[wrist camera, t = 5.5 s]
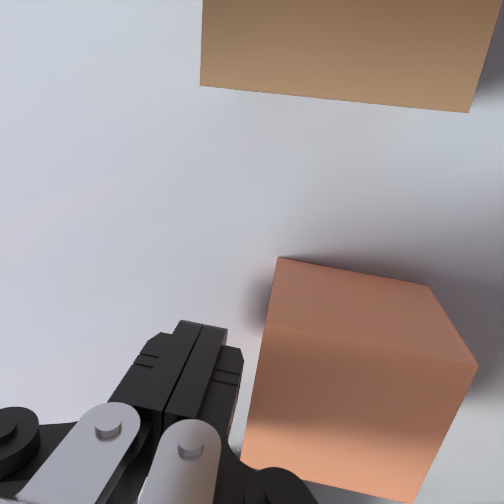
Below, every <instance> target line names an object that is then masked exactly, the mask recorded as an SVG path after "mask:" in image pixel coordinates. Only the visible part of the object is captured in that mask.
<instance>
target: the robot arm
mask: <svg viewBox="0 0 504 504" xmlns="http://www.w3.org/2000/svg"><path fill="white" fill-rule="evenodd" d="M227 334H228V329H225V328H220V327H215V326H210V325H204V324H200V323H195V322H190V321H185V320H180V322H179V323H178V325H177V327H176V328H175V330H174V332H173V334H167V333H162V332H160V333H159V334H157V335H156V336H154V337H153V338H151V339H150V340H148V341H147V343H146V344H145V346H144V347H143V349H142V350H141V352H140V355H138V356H137V358H136V359H135V361H134V363H133V365H131V367H130V368H129V370H128V371H127V373H126V375H125V376H124V378H123V379H122V381H121V382H120V384H119V385H118V387H117V388H116V390H115V391H114V393H113V394H112V396H111V397H110V399H109V400H108V402H107V403H104V404H101V405H98V406H96V407H94V408H92V409H90V410H89V411H88V412H86V413H85V414H84V415H83V416H82V417H81V418H80V420H79V421H76V422H72V423H61V424H46V425H39V421H38V417H37V416H36V414H35V413H34V412H33V411H31V410H29V409H27V408H24V407H8V408H3V409H0V504H137V503H138V496H139V493H140V491H141V489H142V486H143V484H144V482H145V479H146V477H147V480H146V483H145V486H144V489H143V492H142V495H141V498H140V501H139V504H318V503H317V501H316V500H315V498H314V497H313V495H312V494H311V492H310V491H309V489H308V488H307V486H306V485H305V484H304V482H303V481H302V480H301V479H300V478H299V477H298V476H297V475H295V474H294V473H293V472H291V471H289V470H287V469H284V468H280V467H267V468H264V469H261V470H259V471H256V470H254V469H253V468H251V467H249V466H248V465H246V464H245V463H243V462H242V461H240V460H239V459H238V458H237V457H236V456H235V454H234V453H233V452H232V450H231V448H230V446H229V444H228V438H229V434H230V430H231V425H232V421H233V417H234V412H235V408H236V404H237V400H238V394H239V388H240V382H241V377H242V371H243V365H244V359H243V356H242V353H241V350H240V348H235V347H230V346H226V341H227Z"/></svg>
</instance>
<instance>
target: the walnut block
mask: <svg viewBox="0 0 504 504" xmlns="http://www.w3.org/2000/svg"><path fill="white" fill-rule="evenodd" d="M502 3H503V0H203V10H202V38H201V67H200V86H208V87H217V88H226V89H235V90H245V91H254V92H264V93H274V94H284V95H293V96H303V97H313V98H323V99H332V100H342V101H352V102H362V103H371V104H381V105H391V106H401V107H410V108H421V109H431V110H441V111H452V112H462V113H469V110H470V107H471V104H472V100H473V97H474V94H475V91H476V87H477V84H478V81H479V78H480V74H481V71H482V68H483V65H484V61H485V58H486V55H487V52H488V48H489V45H490V42H491V39H492V35H493V32H494V29H495V26H496V22H497V19H498V16H499V13H500V9H501V6H502Z"/></svg>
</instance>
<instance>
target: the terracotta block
mask: <svg viewBox="0 0 504 504" xmlns="http://www.w3.org/2000/svg"><path fill="white" fill-rule="evenodd" d="M479 367H480V366H479V364H478V362H477V361H476V359H475V358H474V356H473V355H472V353H471V352H470V350H469V348H468V347H467V345H466V344H465V342H464V341H463V339H462V338H461V336H460V334H459V333H458V331H457V330H456V328H455V327H454V325H453V324H452V322H451V320H450V319H449V317H448V316H447V314H446V313H445V311H444V310H443V308H442V306H441V305H440V303H439V302H438V300H437V299H436V297H435V296H434V294H433V292H432V291H431V289H430V288H429V286H428V285H424V284H418V283H413V282H408V281H402V280H397V279H392V278H386V277H381V276H375V275H370V274H365V273H359V272H354V271H349V270H343V269H338V268H332V267H327V266H322V265H316V264H311V263H306V262H300V261H295V260H290V259H284V258H279V257H278V259H277V264H276V269H275V274H274V280H273V285H272V290H271V295H270V301H269V306H268V311H267V316H266V322H265V327H264V333H263V338H262V343H261V349H260V354H259V360H258V365H257V370H256V376H255V381H254V386H253V392H252V397H251V403H250V408H249V413H248V419H247V424H246V430H245V435H244V440H243V446H242V451H241V457H240V461H242V462H243V463H245V464H246V465H248V466H249V467H251V468H255V469H259V470H261V469H264V468H267V467H280V468H284V469H287V470H289V471H291V472H293V473H294V474H295V475H297V476H298V477H299V478H300V479H303V480H307V481H311V482H316V483H320V484H324V485H329V486H333V487H337V488H342V489H346V490H351V491H355V492H359V493H364V494H368V495H372V496H377V497H381V498H385V499H390V500H394V501H398V502H403V503H407V504H412V503H413V501H414V499H415V497H416V495H417V493H418V491H419V489H420V487H421V485H422V483H423V481H424V479H425V477H426V475H427V473H428V471H429V469H430V466H431V464H432V462H433V460H434V458H435V456H436V454H437V452H438V450H439V448H440V446H441V444H442V442H443V440H444V438H445V436H446V434H447V432H448V430H449V428H450V426H451V424H452V422H453V420H454V418H455V416H456V414H457V412H458V410H459V408H460V405H461V403H462V401H463V399H464V397H465V395H466V393H467V391H468V389H469V387H470V385H471V383H472V381H473V379H474V377H475V375H476V373H477V371H478V369H479Z"/></svg>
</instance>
